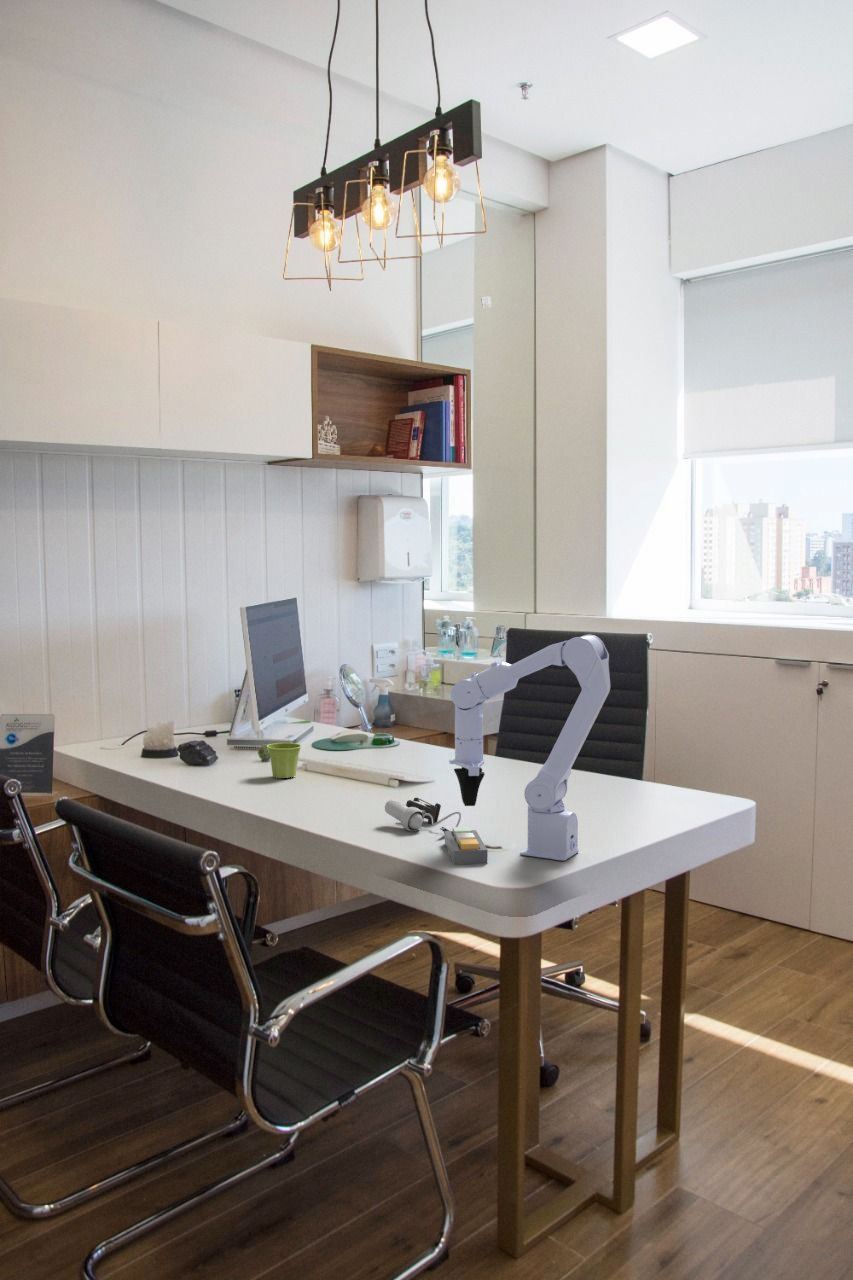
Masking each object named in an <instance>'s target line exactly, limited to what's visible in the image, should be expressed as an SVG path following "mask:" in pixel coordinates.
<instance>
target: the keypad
mask: <svg viewBox="0 0 853 1280" xmlns="http://www.w3.org/2000/svg"><path fill="white" fill-rule="evenodd" d="M471 831H472V833H473V834H474V836H475V839H477V841H478V843H479V849H470V850H460V849H459V843H456V837H453V830H449V831H445V833H444V845H445V847H446V849H447V851H448V853H449V855H450V859H451V861H452V862H453V863H452V864H454V865H476V864H477V865H478V864H482V865H483V864H488V849H487V847H486V844H485V843H484V841H483V840H482V839H481V836H480V835H479V833H478V831H477V830H476V829H471Z"/></svg>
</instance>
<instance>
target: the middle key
mask: <svg viewBox="0 0 853 1280" xmlns="http://www.w3.org/2000/svg"><path fill="white" fill-rule="evenodd" d="M465 839H475V836H474V834H473V833H456V843H459V840H465Z"/></svg>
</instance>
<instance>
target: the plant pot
mask: <svg viewBox="0 0 853 1280" xmlns="http://www.w3.org/2000/svg"><path fill="white" fill-rule="evenodd" d="M266 748H267V749H268V750H267V751H268V754H269V758H270V764H271V772H272V778H275V777H276V778H275V779H277V778H287V779H288V778H289V779H291V778H290V777H294V776H296V775H297V768H298V759H299V754H300V751H301V749H302V744H300V743H295V742H275V743H269V744H267V745H266ZM294 778H295V777H294Z"/></svg>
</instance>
